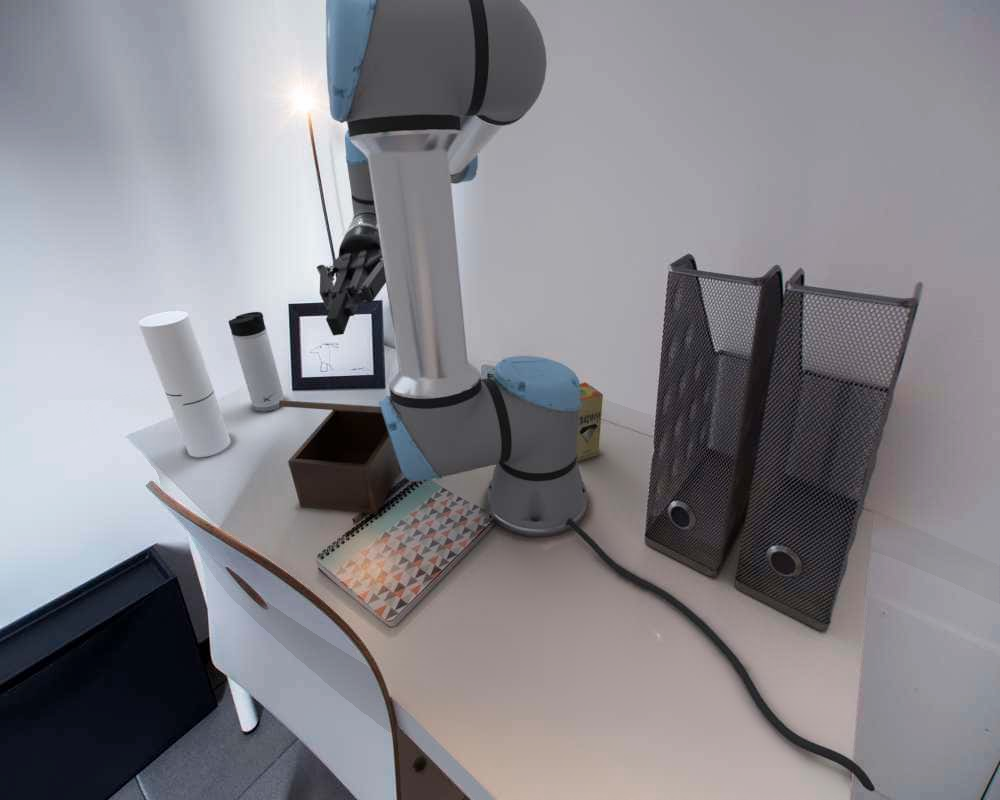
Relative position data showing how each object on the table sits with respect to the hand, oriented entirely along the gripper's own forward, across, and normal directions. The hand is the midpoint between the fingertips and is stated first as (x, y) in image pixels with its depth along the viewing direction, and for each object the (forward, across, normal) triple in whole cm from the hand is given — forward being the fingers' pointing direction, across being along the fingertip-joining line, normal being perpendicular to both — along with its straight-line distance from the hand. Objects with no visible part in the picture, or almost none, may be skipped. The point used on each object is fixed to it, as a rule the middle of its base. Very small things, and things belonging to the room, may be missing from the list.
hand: (334, 326), depth 72 cm
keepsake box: (+4, +5, -27) cm, 28 cm away
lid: (+1, +4, -15) cm, 15 cm away
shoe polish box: (-2, -32, -34) cm, 46 cm away
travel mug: (-21, +31, -30) cm, 48 cm away
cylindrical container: (-6, +36, -26) cm, 45 cm away
